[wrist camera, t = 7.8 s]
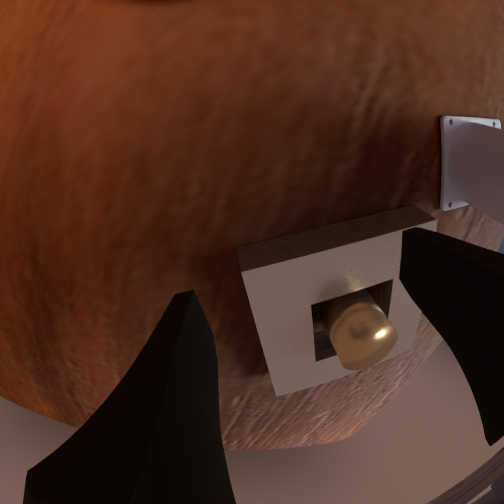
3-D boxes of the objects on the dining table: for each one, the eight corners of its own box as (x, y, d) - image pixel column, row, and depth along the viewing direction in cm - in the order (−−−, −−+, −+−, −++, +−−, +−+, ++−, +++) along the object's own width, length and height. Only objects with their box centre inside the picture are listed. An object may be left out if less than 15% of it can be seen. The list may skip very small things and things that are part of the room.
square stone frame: (413, 204, 19) (437, 219, 16) (397, 329, 26) (411, 348, 23) (236, 248, 18) (241, 272, 16) (270, 371, 25) (276, 396, 23)
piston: (358, 266, 21) (397, 315, 16) (364, 304, 23) (397, 352, 18) (307, 290, 21) (336, 345, 16) (320, 325, 23) (345, 378, 18)
